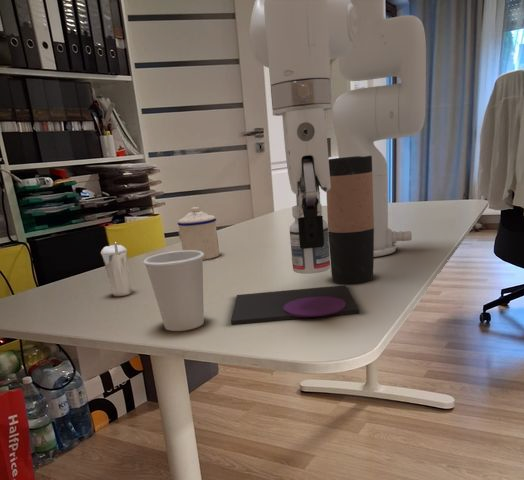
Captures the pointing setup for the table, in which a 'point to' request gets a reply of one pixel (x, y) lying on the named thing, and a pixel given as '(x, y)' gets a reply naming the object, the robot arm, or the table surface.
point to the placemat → (293, 304)
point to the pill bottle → (308, 250)
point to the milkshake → (117, 269)
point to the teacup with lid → (199, 233)
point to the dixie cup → (178, 288)
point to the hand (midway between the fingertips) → (310, 242)
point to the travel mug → (351, 219)
